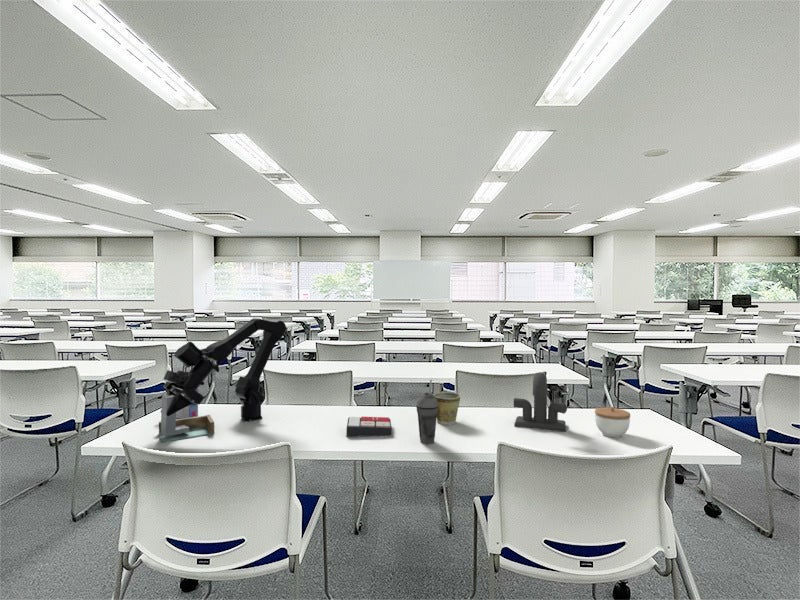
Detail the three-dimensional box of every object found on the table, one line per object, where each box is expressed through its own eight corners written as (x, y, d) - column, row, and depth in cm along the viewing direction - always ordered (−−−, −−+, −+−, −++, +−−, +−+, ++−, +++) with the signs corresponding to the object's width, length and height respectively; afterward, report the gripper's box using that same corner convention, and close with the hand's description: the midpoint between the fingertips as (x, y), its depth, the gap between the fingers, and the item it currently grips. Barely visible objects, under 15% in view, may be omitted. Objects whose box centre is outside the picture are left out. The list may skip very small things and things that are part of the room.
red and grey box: (391, 426, 146) (346, 424, 145) (391, 438, 146) (346, 437, 145) (390, 416, 157) (348, 415, 156) (389, 428, 157) (347, 427, 156)
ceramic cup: (457, 427, 154) (457, 399, 154) (429, 424, 157) (430, 397, 157) (463, 417, 167) (463, 391, 166) (438, 415, 170) (438, 389, 169)
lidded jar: (588, 429, 152) (589, 402, 152) (618, 429, 153) (618, 402, 152) (604, 440, 141) (605, 411, 141) (636, 439, 142) (637, 411, 142)
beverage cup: (414, 438, 143) (414, 377, 143) (436, 437, 144) (436, 377, 143) (417, 446, 136) (417, 382, 136) (440, 445, 137) (440, 381, 136)
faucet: (510, 432, 149) (510, 374, 148) (514, 419, 164) (515, 366, 163) (567, 439, 143) (567, 378, 142) (566, 425, 157) (567, 369, 157)
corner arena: (209, 425, 156) (209, 414, 156) (214, 433, 148) (214, 422, 148) (158, 433, 148) (158, 422, 148) (160, 442, 139) (160, 430, 139)
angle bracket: (165, 436, 141) (166, 397, 141) (160, 434, 143) (161, 395, 143) (189, 431, 146) (190, 394, 146) (184, 429, 149) (185, 392, 149)
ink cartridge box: (199, 415, 170) (198, 378, 169) (189, 419, 164) (189, 381, 164) (176, 413, 172) (176, 377, 171) (166, 417, 166) (166, 380, 166)
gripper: (168, 357, 152) (134, 395, 144) (192, 363, 139) (156, 405, 131) (191, 376, 158) (160, 413, 150) (217, 383, 146) (184, 424, 138)
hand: (164, 414), depth 142 cm, fingers closed on angle bracket, 4 cm apart
